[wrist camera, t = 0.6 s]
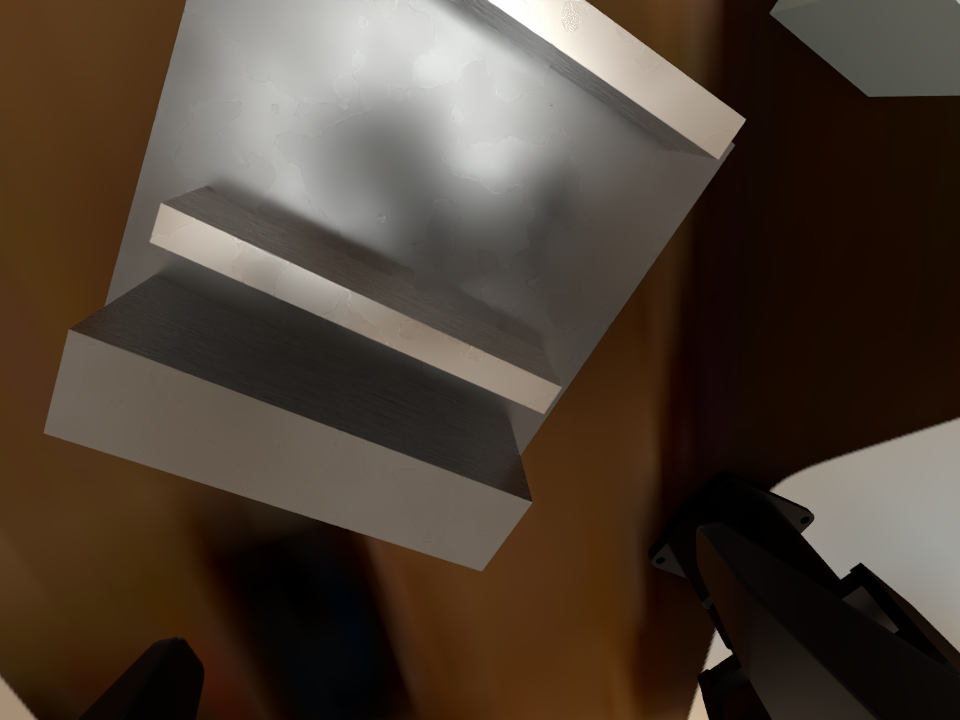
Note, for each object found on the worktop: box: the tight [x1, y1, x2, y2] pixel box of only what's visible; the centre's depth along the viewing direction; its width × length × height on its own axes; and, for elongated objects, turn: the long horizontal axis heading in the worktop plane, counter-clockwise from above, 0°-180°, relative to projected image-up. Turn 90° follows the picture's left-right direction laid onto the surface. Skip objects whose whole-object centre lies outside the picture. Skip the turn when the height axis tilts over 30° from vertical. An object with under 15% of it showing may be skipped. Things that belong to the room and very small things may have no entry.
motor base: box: [44, 0, 746, 571], centre depth 15 cm, size 14×14×8 cm
